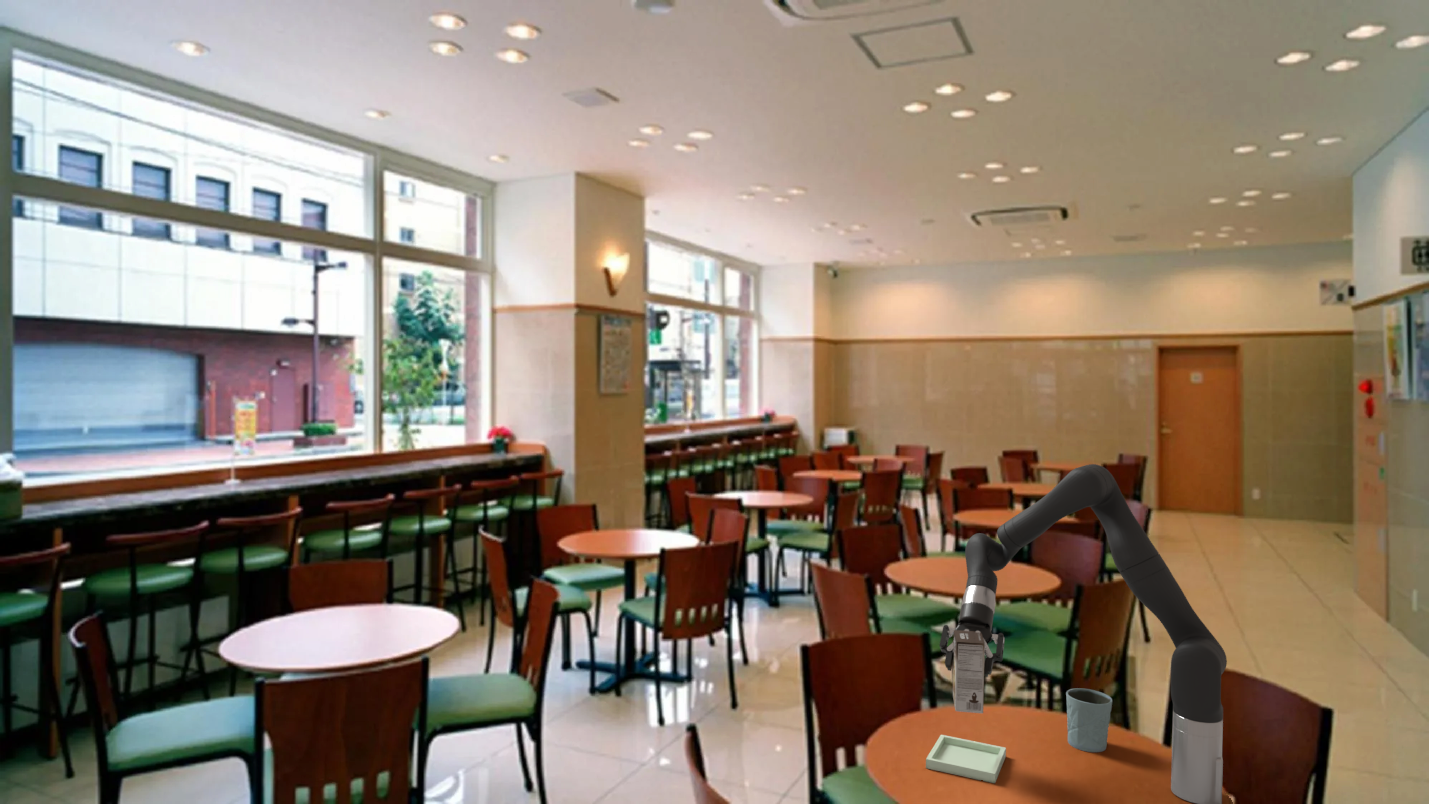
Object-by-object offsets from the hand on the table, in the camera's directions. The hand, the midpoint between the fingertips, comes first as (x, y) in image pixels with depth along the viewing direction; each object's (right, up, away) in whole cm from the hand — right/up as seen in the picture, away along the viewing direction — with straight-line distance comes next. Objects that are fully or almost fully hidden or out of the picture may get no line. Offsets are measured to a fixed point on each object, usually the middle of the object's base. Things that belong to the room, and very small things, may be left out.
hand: (967, 671), depth 192 cm
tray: (0, -21, +2) cm, 21 cm away
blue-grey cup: (+33, -22, +12) cm, 41 cm away
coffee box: (+1, -8, +2) cm, 8 cm away
